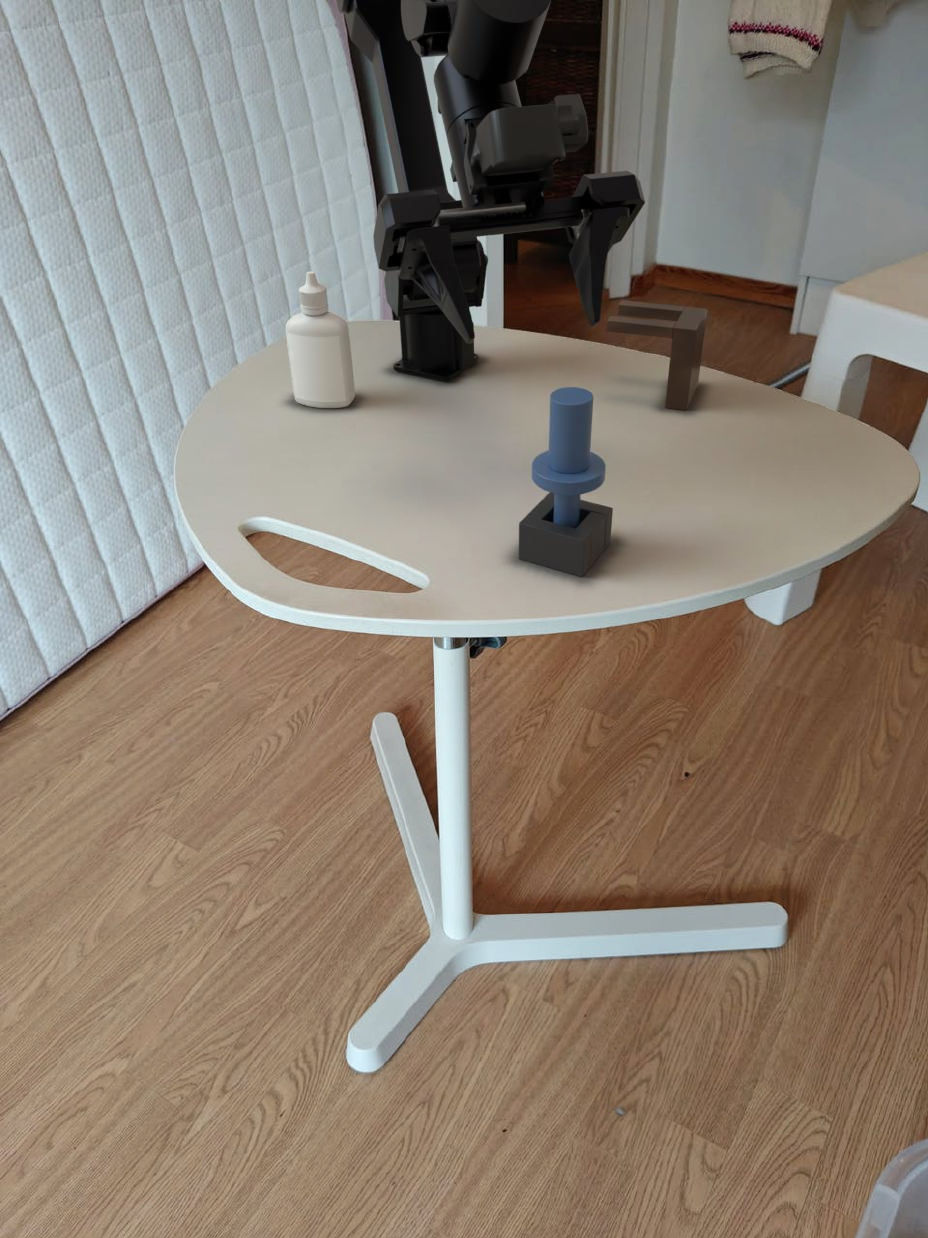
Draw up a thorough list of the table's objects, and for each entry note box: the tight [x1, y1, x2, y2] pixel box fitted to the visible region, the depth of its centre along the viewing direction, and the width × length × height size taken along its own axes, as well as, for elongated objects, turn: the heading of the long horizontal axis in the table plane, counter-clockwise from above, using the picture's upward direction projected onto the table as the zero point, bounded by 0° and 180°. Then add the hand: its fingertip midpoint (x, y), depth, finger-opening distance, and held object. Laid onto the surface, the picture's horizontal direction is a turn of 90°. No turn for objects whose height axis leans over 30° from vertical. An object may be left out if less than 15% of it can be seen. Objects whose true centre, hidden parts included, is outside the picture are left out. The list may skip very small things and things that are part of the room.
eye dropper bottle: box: [285, 270, 356, 409], centre depth 89 cm, size 4×6×12 cm
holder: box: [518, 492, 614, 578], centre depth 70 cm, size 5×5×3 cm
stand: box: [605, 300, 708, 411], centre depth 90 cm, size 8×6×8 cm
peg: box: [531, 386, 607, 529], centre depth 67 cm, size 5×5×12 cm
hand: (534, 332), depth 68 cm, fingers open, 9 cm apart
